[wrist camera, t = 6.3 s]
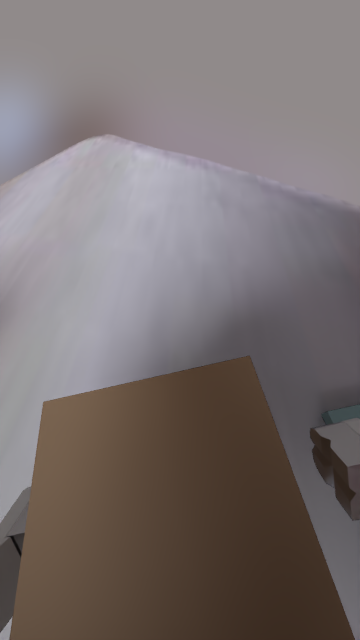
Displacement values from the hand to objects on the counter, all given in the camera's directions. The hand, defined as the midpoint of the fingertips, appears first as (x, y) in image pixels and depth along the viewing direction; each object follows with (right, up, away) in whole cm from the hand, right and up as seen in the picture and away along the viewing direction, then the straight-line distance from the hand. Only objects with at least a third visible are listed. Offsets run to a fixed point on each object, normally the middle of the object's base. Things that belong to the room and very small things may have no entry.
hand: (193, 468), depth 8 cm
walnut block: (+1, -4, +6) cm, 7 cm away
